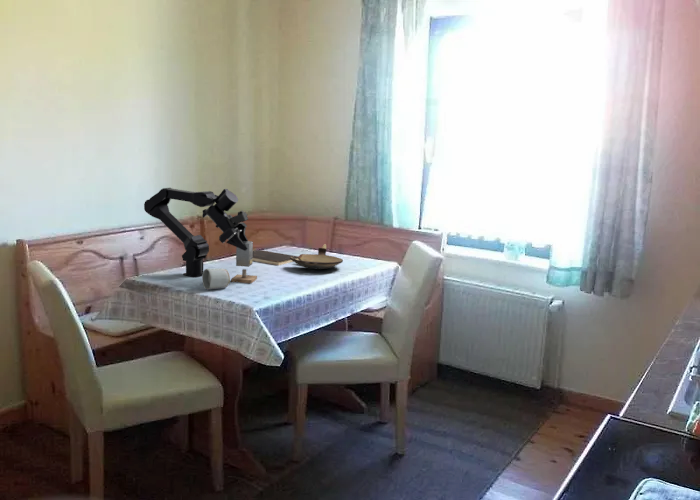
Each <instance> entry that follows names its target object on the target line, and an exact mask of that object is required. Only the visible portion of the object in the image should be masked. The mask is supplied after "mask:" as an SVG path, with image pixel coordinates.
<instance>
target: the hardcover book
mask: <svg viewBox="0 0 700 500" xmlns="http://www.w3.org/2000/svg"><path fill="white" fill-rule="evenodd" d="M297 256H298V255H292V254H286V253H280V252H274V251H268V250H262V249H257V250H253V256H252V262H257V263H263V264H268V265H275V266H282V265H286V264H290V263H294V262H293V261H292V260H291V259H290V257H292V258H294V259H296V260H299V259H298V258H297Z"/></svg>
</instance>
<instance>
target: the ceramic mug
mask: <svg viewBox="0 0 700 500" xmlns="http://www.w3.org/2000/svg"><path fill="white" fill-rule="evenodd" d="M201 277H202V278H201V279H202V280H201V281H202V285H203V288H204V289H205V290H206V289H207V291H209V290H217V289H224V288H227V287H228V286H229V285H230V282H231V280H230V279H231V277H230V273H229V271H228V270H227V269H226V268H205V269H203V275H202V276H201Z"/></svg>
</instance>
